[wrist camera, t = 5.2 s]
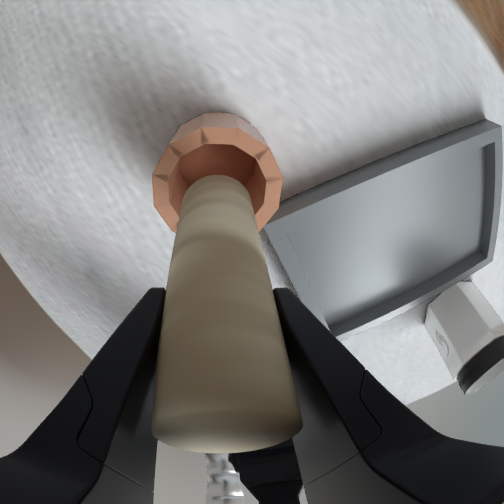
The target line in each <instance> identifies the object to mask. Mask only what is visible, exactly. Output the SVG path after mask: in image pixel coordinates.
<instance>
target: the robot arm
mask: <svg viewBox="0 0 504 504" xmlns="http://www.w3.org/2000/svg"><path fill="white" fill-rule="evenodd" d="M165 294H166V290H165V289H164V288H150V289H149V290H148V291H147V293H146V294H145V295H144V296H143V297H142V298H141V300H140V301H139V302H138V303H137V305H136V306H135V307H134V308H133V309H132V311H131V312H130V313H129V314H128V315H127V317H126V318H125V319H124V320H123V322H122V323H121V324H120V325H119V327H118V328H117V329H116V330H115V332H114V333H113V334H112V335H111V337H110V338H109V339H108V340H107V342H106V343H105V344H104V346H103V347H102V348H101V349H100V351H99V352H98V353H97V355H96V356H95V357H94V358H93V360H92V361H91V362H90V364H89V365H88V366H87V368H86V369H85V371H84V372H83V375H81V376H80V377H79V378H78V379H77V381H76V382H75V383H74V385H73V386H72V387H71V389H70V390H69V391H68V393H67V394H66V395H65V397H64V398H63V399H62V400H61V401H60V403H59V404H58V405H57V406H56V407H55V409H53V411H52V412H51V413H50V414H49V415H48V416H47V417H46V419H45V420H44V421H43V422H42V423H41V424H40V425H39V426H38V428H37V429H36V430H35V431H34V432H33V433H32V434H31V435H30V437H29V438H28V439H27V440H26V441H25V442H24V443H23V444H22V445H21V446H20V447H19V448H18V449H17V450H15V451H14V452H12V453H11V454H9V455H7V456H4V457H2V458H0V504H153V497H154V492H153V491H154V478H155V464H156V452H157V441H158V439H156V438H155V437H154V436H153V434H152V432H151V428H152V411H153V397H154V385H155V374H156V364H157V354H158V345H159V337H160V329H161V321H162V314H163V307H164V300H165ZM273 294H274V298H275V303H276V307H277V311H278V315H279V320H280V324H281V328H282V333H283V337H284V341H285V346H286V350H287V354H288V359H289V363H290V368H291V372H292V377H293V381H294V385H295V390H296V394H297V399H298V403H299V408H300V412H301V417H302V421H303V428H302V429H301V431H300V432H299V433H298V434H296V435H295V436H294V437H292V438H290V439H288V440H286V441H284V442H282V443H279V444H277V445H274V446H270V447H267V448H263V449H259V450H253V451H247V452H238V453H228V462H230V463H231V464H232V465H233V467H234V469H235V472H236V473H239V474H240V480H241V482H242V483H243V484H244V485H245V486H246V488H247V489H248V490H249V491H250V492H251V493H252V494H253V496H254V497H255V498H256V499H257V500H258V501H259V504H300V501H299V497H300V495H301V492H302V490H303V488H304V489H305V494H306V497H307V502H308V504H504V447H500V446H492V445H486V444H480V443H474V442H469V441H463V440H458V439H454V438H450V437H447V436H445V435H442V434H441V433H439V432H437V431H436V430H434V429H433V428H432V427H430V426H429V425H428V424H427V423H425V422H424V421H423V420H422V419H420V418H419V417H418V416H417V415H416V414H414V413H413V412H412V411H411V410H410V409H408V408H407V407H406V406H405V405H404V404H402V403H401V402H400V401H399V400H398V399H397V398H396V397H394V396H393V395H392V394H391V393H390V392H389V391H388V390H387V389H386V388H385V387H384V386H383V385H382V384H381V383H379V382H378V381H377V380H376V379H375V378H374V376H373V375H372V374H371V373H370V372H369V371H368V370H365V367H364V366H363V365H362V364H361V363H360V362H359V361H358V360H357V359H356V358H355V357H354V356H353V355H352V354H351V353H350V352H349V351H348V350H347V349H346V348H345V346H344V345H343V344H342V343H341V342H340V341H339V340H338V339H337V338H336V337H335V336H334V335H333V334H332V333H331V332H330V331H329V330H328V329H327V328H326V327H325V326H324V325H323V324H322V323H321V322H320V320H319V319H318V318H317V317H316V316H315V315H314V314H313V313H312V312H311V311H310V310H309V309H308V308H307V307H306V306H305V305H304V304H303V303H302V302H301V301H300V300H299V299H298V298H297V297H296V296H295V295H294V293H293V292H292V291H291V290H290V289H288V288H275V289H274V290H273Z"/></svg>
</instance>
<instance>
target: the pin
mask: <svg viewBox="0 0 504 504" xmlns="http://www.w3.org/2000/svg"><path fill="white" fill-rule="evenodd" d="M302 428H303V421H302V417H301V412H300V408H299V403H298V399H297V394H296V390H295V385H294V381H293V377H292V372H291V368H290V363H289V359H288V354H287V350H286V346H285V341H284V337H283V333H282V328H281V324H280V320H279V315H278V311H277V307H276V303H275V298H274V294H273V290H272V285H271V281H270V277H269V273H268V269H267V264H266V260H265V256H264V252H263V248H262V243H261V239H260V235H259V231H258V227H257V223H256V219H255V214H254V210H253V206H252V202H251V198H250V195H249V193H248V191H247V189H246V188H245V187H244V186H243V185H242V184H241V183H240V182H239V181H237V180H236V179H234V178H232V177H229V176H225V175H210V176H206V177H203V178H201V179H199V180H197V181H196V182H194V183H193V184H192V185H191V186H190V187H189V188H188V190H187V191H186V193H185V195H184V198H183V202H182V207H181V212H180V216H179V221H178V226H177V231H176V236H175V241H174V247H173V252H172V258H171V263H170V269H169V275H168V281H167V287H166V294H165V300H164V307H163V314H162V321H161V329H160V337H159V345H158V354H157V364H156V374H155V385H154V397H153V411H152V428H151V432H152V434H153V436H154V437H155V438H156V439H158V440H159V441H161V442H163V443H165V444H167V445H169V446H173V447H176V448H179V449H183V450H188V451H194V452H202V453H238V452H247V451H253V450H259V449H263V448H267V447H270V446H274V445H277V444H279V443H282V442H284V441H286V440H288V439H290V438H292V437H294V436H295V435H296V434H298V433H299V432H300V431H301V429H302Z"/></svg>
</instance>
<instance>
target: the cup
mask: <svg viewBox="0 0 504 504" xmlns="http://www.w3.org/2000/svg"><path fill="white" fill-rule="evenodd" d="M210 175H225V176H229V177H232V178H234V179H236V180H237V181H239V182H240V183H241V184H242V185H243V186H244V187H245V188H246V189H247V191H248V193H249V195H250V198H251V202H252V206H253V210H254V214H255V219H256V223H257V227H258V231H259V232H260V231H261V229H262V228H263V227H264V226H265V224H266V223H267V222H268V221H269V219H270V218H271V217H272V216H273V214H274V213H275V212H276V211H277V210H278V208H279V202H280V195H281V189H282V182H283V176H282V174H281V172H280V170H279V167H278V165H277V163H276V161H275V159H274V157H273V154H272V152H271V150H270V148H269V146H268V145H267V143H266V141H265V140H264V138H263V137H262V135H261V134H260V132H259V130H258V129H257V128H256V127H254V126H252V125H251V124H250V123H249V122H247V121H246V120H244V119H243V118H241V117H239V116H237V115H235V114H229V113H224V112H212V113H204V114H202V115H199V116H197V117H195V118H193V119H191V120H190V121H188V122H187V123H185V124H184V125H182V126H180V127H179V129H178V131H177V132H176V134H175V135H174V137H173V139H172V140H171V142H170V144H169V145H168V147H167V149H166V151H165V152H164V154H163V156H162V158H161V159H160V161H159V163H158V165H157V166H156V168H155V170H154V172H153V174H152V184H153V199H154V207H155V208H156V210H157V211H158V212H159V214H160V215H161V217H162V218H163V219H164V221H165V222H166V224H167V225H168V226H169V228H170V229H171V231H173V232H175V233H176V231H177V226H178V221H179V216H180V212H181V207H182V202H183V198H184V195H185V193H186V191H187V190H188V188H189V187H190V186H191V185H192V184H193V183H194V182H196V181H197V180H199V179H201V178H203V177H206V176H210Z"/></svg>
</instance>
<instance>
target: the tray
mask: <svg viewBox="0 0 504 504" xmlns="http://www.w3.org/2000/svg"><path fill="white" fill-rule="evenodd" d="M502 162H503V157H502V127H501V126H500V125H498V124H496V123H494V122H492V121H489V120H487V119H485V120H482V121H480V122H477V123H474V124H471V125H468V126H466V127H463V128H460V129H457V130H455V131H452V132H449V133H447V134H444V135H441V136H439V137H436V138H433V139H431V140H428V141H426V142H423V143H420V144H418V145H415V146H413V147H410V148H408V149H405V150H403V151H400V152H398V153H395V154H393V155H390V156H388V157H385V158H383V159H380V160H378V161H375V162H373V163H370V164H368V165H366V166H363V167H361V168H358V169H356V170H353V171H351V172H349V173H346V174H344V175H342V176H339V177H337V178H335V179H332V180H330V181H327V182H325V183H323V184H320V185H318V186H316V187H314V188H311V189H309V190H307V191H304V192H302V193H300V194H298V195H295V196H293V197H291V198H288V199H286V200H284V201H282V202H279V208H278V210H277V211H276V212H275V213H274V214H273V216H272V217H271V218H270V219H269V221H268V222H267V223H266V224H265V226H264V227H263V228H264V230H265V232H266V234H267V236H268V238H269V240H270V242H271V244H272V246H273V248H274V249H275V251H276V253H277V255H278V257H279V259H280V261H281V263H282V265H283V267H284V269H285V271H286V273H287V275H288V276H289V278H290V280H291V282H292V284H293V286H294V288H295V290H296V292H297V294H298V296H299V298H300V300H301V302H302V303H303V304H304V305H305V306H306V307H307V308H308V309H309V310H310V311H311V312H312V313H313V314H314V315H315V316H316V317H317V318H318V319H319V320H320V322H321V323H322V324H323V325H324V326H325V327H326V328H327V329H328V330H329V331H330V332H331V333H332V334H333V335H334V336H335V337H336V338H337V339H338V340H339V341H340V342H341V341H343V340H345V339H348V338H350V337H352V336H355V335H357V334H359V333H361V332H364V331H366V330H368V329H370V328H372V327H375V326H377V325H379V324H381V323H383V322H385V321H387V320H389V319H391V318H394V317H396V316H398V315H400V314H402V313H404V312H406V311H408V310H410V309H411V308H413V307H415V306H417V305H419V304H421V303H423V302H425V301H427V300H428V299H430V298H432V297H434V296H436V295H438V294H439V293H441V292H443V291H445V290H446V289H448V288H450V287H452V286H453V285H455V284H457V283H458V282H460V281H462V280H463V279H465V278H467V277H468V276H470V275H471V274H473V273H475V272H476V271H478V270H479V269H481V268H483V267H484V266H486V265H487V264H489V263H490V262H492V261H493V255H494V250H495V244H496V238H497V231H498V223H499V215H500V204H501V191H502Z"/></svg>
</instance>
